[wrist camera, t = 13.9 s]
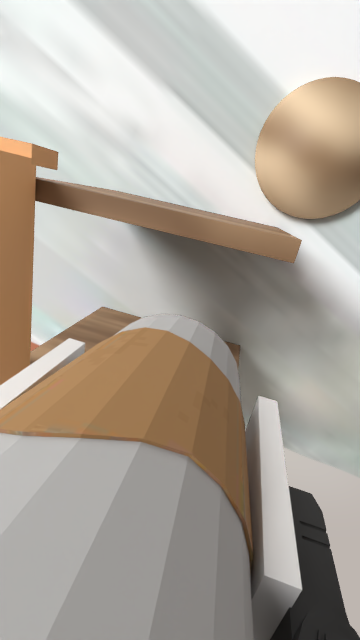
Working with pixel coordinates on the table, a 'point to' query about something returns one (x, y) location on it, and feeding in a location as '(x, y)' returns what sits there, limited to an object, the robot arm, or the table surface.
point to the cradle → (161, 219)
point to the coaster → (312, 150)
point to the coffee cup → (129, 493)
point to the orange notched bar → (17, 248)
